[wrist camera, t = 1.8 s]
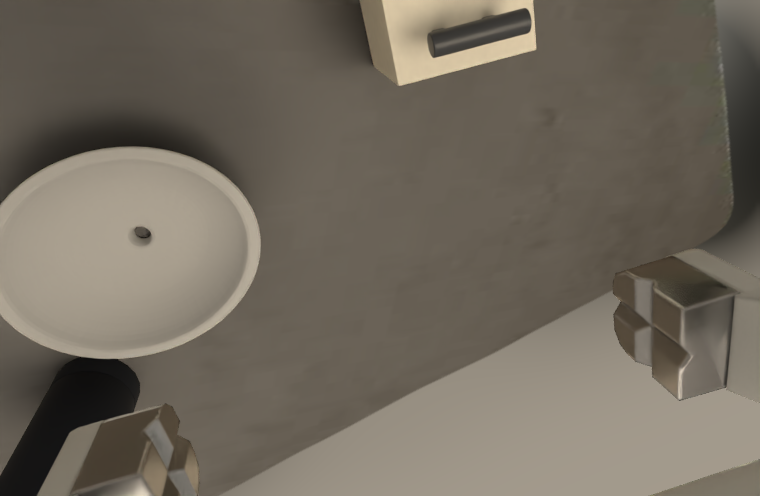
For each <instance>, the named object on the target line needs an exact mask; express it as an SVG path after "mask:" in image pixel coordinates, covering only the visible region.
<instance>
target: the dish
mask: <svg viewBox="0 0 760 496" xmlns="http://www.w3.org/2000/svg"><path fill="white" fill-rule="evenodd" d="M139 226H141V227H145V228H147V229H148V230H149V231H150V233H151V235H150V236H149V237H148V238H140V237H138V236H137V235H136V234H135V228H136V227H139ZM260 251H261V237H260V230H259V225H258V222H257V218H256V216H255V213H254V211H253V209H252V207H251V205H250V204H249V202H248V200H247V199H246V197H245V196H244V195H243V193H242V192H241V191H240V190H239V189H238V187H237V186H236V185H235V184H234V183H233V182H232V181H230V180H229V179H228V178H227V177H226V176H225V175H223V174H222V173H220V172H219V171H217V170H216V169H215V168H213V167H211V166H209V165H207V164H206V163H204V162H202V161H200V160H197V159H195V158H192V157H190V156H187V155H184V154H181V153H178V152H174V151H169V150H165V149H158V148H151V147H136V146H129V147H112V148H103V149H98V150H93V151H88V152H84V153H81V154H77V155H74V156H71V157H68V158H65V159H63V160H60V161H58V162H56V163H54V164H51V165H49V166H47V167H45V168H44V169H42V170H40V171H38V172H37V173H35V174H33V175H32V176H31V177H29V178H28V179H26V180H25V181H24V182H22V183H21V184H20V185H19V186H18V187H17V188H15V189H14V190H13V191H12V192H11V193H10V194H9V195H8V196H7V198H6V199H5V200H4V201H3V202H2V203H1V205H0V315H1V316H2V317H3V318H4V319H5V320H6V321H7V322H8V323H9V324H10V325H11V326H12V327H13V328H15V329H16V330H17V331H18V332H20V333H21V334H23V335H24V336H26V337H27V338H29V339H31V340H33V341H35V342H36V343H39V344H41V345H43V346H45V347H48V348H50V349H53V350H56V351H59V352H63V353H66V354H70V355H75V356H81V357H88V358H98V359H122V358H132V357H139V356H145V355H150V354H154V353H158V352H161V351H165V350H168V349H171V348H174V347H176V346H179V345H181V344H184V343H186V342H188V341H190V340H192V339H194V338H196V337H198V336H200V335H201V334H203V333H205V332H206V331H208V330H209V329H211V328H212V327H213V326H215V325H216V324H217V323H219V322H220V321H221V320H222V319H223V318H225V317H226V316H227V315H228V314H229V313H230V312H231V311H232V310H233V309H234V308H235V306H236V305H237V304H238V303H239V302H240V300H241V299H242V298H243V296H244V295H245V293H246V292H247V290H248V288H249V287H250V285H251V283H252V281H253V279H254V276H255V273H256V271H257V268H258V263H259V259H260Z"/></svg>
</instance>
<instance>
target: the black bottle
mask: <svg viewBox="0 0 760 496" xmlns="http://www.w3.org/2000/svg"><path fill="white" fill-rule="evenodd" d="M139 393H140V383H139V381H138V379H137V377H136V375H135V373H134V372H133V371H132V370H131V369H130V368H129V367H128V366H127V365H125V364H123V363H121V362H119V361H117V360H115V359H98V358H88V357H83V358H78V359H75V360H73V361H72V362H70V363H68V364H66V365H65V366H64V367H63V368H62V369H61V370H60V371H59V372H58V374H57V375H56V377H55V379H54V381H53V382H52V384H51V386H50V388H49V390H48V391H47V393H46V395H45V397H44V399H43V400H42V402H41V404H40V406H39V408H38V409H37V411H36V413H35V415H34V416H33V418H32V420H31V422H30V424H29V425H28V427H27V429H26V431H25V433H24V434H23V436H22V438H21V440H20V442H19V443H18V445H17V447H16V449H15V450H14V452H13V454H12V456H11V458H10V459H9V461H8V463H7V465H6V467H5V468H4V470H3V472H2V474H1V476H0V496H37V494H38V493H39V491H40V489H41V487H42V485H43V483H44V481H45V479H46V477H47V475H48V473H49V471H50V469H51V468H52V466H53V464H54V462H55V460H56V458H57V456H58V454H59V452H60V450H61V448H62V446H63V444H64V442H65V441H66V439H67V437H68V435H69V433H70V432H71V431H73V430H75V429H76V428H79V427H82V426H85V425H89V424H92V423H95V422H99V421H102V420H107V419H110V418H113V417H117V416H121V415H125V414H128V413H132V412H134V408H135V405H136V402H137V399H138V396H139Z"/></svg>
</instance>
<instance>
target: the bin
mask: <svg viewBox="0 0 760 496" xmlns="http://www.w3.org/2000/svg"><path fill="white" fill-rule="evenodd" d="M360 5H361V9H362V14H363V19H364V23H365V28H366V33H367V37H368V42H369V47H370V51H371V56H372V61H373V65H374V67H375V68H377V69H378V70H379V71H380V72H382V73H383V74H384V75H385V76H387V77H388V78H389V79H390V80H392V81H393V82H394V83H396V84H397V85H398V86H401V85H405V84H409V83H413V82H416V81H420V80H424V79H428V78H431V77H435V76H439V75H443V74H446V73H450V72H454V71H458V70H461V69H465V68H469V67H473V66H476V65H480V64H484V63H488V62H491V61H495V60H499V59H503V58H506V57H510V56H514V55H518V54H521V53H525V52H529V51H533V50H536V37H535V23H534V8H533V0H360Z"/></svg>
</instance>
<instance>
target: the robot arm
mask: <svg viewBox="0 0 760 496" xmlns="http://www.w3.org/2000/svg"><path fill="white" fill-rule="evenodd" d="M613 294H614V295H615V296H616V297H617V298H618V299H619V300H620V301H621V302H620V304H619V306H618V308H617V309H616V311H615V313H614V329H615V332H616V335H617V337H618V340H619V343H620V345H621V346H622V347H623V349H624V350H625V352H626V353H627V354H628V355H629V356H630V357H631V358H632V359H633V360H634V361H635V362H639V363H641V364H645V365H648V366H651V367H652V377H653V378H654V379H656V381H658V382H659V383H660V384H661V385H662V386H663V387H664V388H666V389H667V390H668V391H669V392H670V393H671V394H672V395H673V396H674V397H675V398H677V399H678V400H679V401H681V400H684V399H688V398H691V397H695V396H698V395H702V394H705V393H709V392H712V391H715V390H719V389H722V388H726V387H727V389H726V390H728V391H731V392H733V393H736V394H738V395H741V396H743V397H746V398H748V399H751V400H753V401H756V402H759V403H760V278H758V277H756V276H754V275H752V274H750V273H748V272H746V271H744V270H742V269H740V268H738V267H736V266H734V265H732V264H730V263H728V262H726V261H724V260H722V259H720V258H718V257H716V256H714V255H712V254H710V253H708V252H706V251H704V250H701V249H689V250H686V251H683V252H680V253H677V254H674V255H671V256H667V257H666V258H663V259H660V260H656V261H653V262H650V263H647V264H643V265H640V266H637V267H634V268H631V269H627V270H624V271H621V272H618V273H616V274H615V277H614V280H613ZM179 424H180V420H179V419H178V417H177V415H176V413H175V411H174V409H173V407H172V406H170V405H168V404H166V403H165V404H162V405H158V406H154V407H151V408H147V409H143V410H139V411H136V412H132V413H128V414H125V415H121V416H117V417H113V418H110V419H107V420H102V421H99V422H95V423H92V424H89V425H85V426H82V427H79V428H76V429H75V430H73V431H71V432H70V433H69V435H68V437H67V439H66V441H65V442H64V444H63V446H62V448H61V450H60V452H59V454H58V456H57V458H56V460H55V462H54V464H53V466H52V468H51V469H50V471H49V473H48V475H47V477H46V479H45V481H44V483H43V485H42V487H41V489H40V491H39V493H38V494H37V496H198V492H199V484H200V479H199V466H198V462H197V458H196V455H195V452H194V449H193V447H192V445H191V443H190V441H189V440H187V439H185V438H183V437H181V436H179V435H177V432H178V428H179ZM650 496H760V459H758V460H755V461H752V462H749V463H746V464H743V465H740V466H737V467H734V468H731V469H728V470H725V471H722V472H719V473H716V474H713V475H710V476H707V477H704V478H701V479H698V480H695V481H692V482H689V483H686V484H683V485H680V486H677V487H674V488H671V489H668V490H665V491H662V492H659V493H656V494H653V495H650Z"/></svg>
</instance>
